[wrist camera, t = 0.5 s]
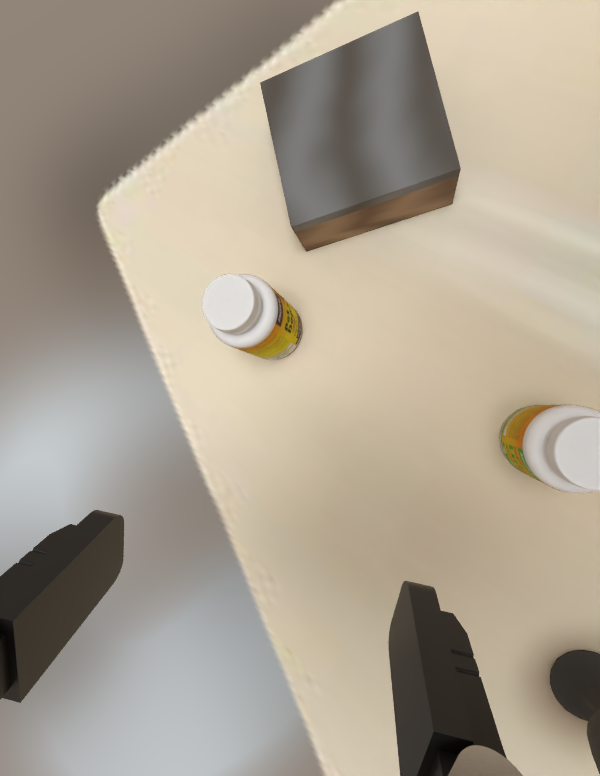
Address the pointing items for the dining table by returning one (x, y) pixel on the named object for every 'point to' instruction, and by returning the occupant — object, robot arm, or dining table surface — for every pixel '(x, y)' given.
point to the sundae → (580, 691)
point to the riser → (362, 136)
